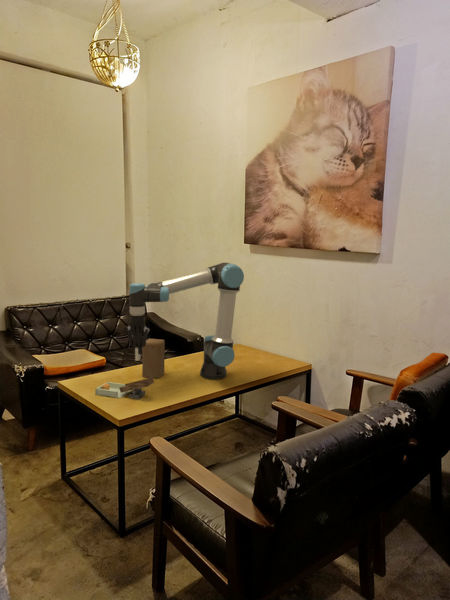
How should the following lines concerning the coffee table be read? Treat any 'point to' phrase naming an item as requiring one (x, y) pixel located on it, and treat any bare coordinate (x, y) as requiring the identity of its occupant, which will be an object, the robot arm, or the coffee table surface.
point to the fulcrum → (137, 394)
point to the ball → (106, 386)
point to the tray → (111, 390)
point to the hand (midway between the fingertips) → (137, 359)
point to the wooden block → (153, 358)
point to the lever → (137, 384)
